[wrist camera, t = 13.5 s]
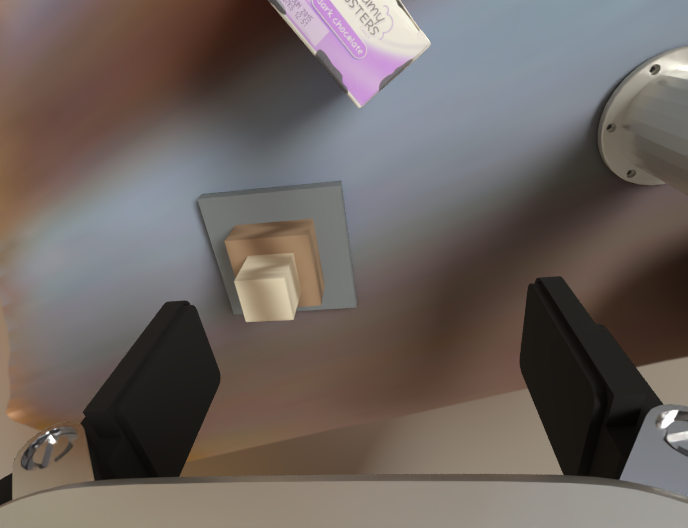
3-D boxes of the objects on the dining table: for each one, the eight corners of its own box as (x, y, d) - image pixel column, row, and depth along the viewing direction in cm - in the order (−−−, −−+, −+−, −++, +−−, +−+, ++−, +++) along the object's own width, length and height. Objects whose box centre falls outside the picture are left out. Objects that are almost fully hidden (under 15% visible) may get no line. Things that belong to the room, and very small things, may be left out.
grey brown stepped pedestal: (341, 180, 45) (337, 199, 40) (357, 300, 53) (355, 327, 48) (202, 194, 47) (182, 213, 42) (237, 308, 55) (224, 334, 50)
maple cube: (293, 252, 44) (284, 278, 40) (301, 292, 46) (293, 319, 42) (247, 255, 44) (234, 281, 40) (257, 294, 47) (245, 322, 43)
